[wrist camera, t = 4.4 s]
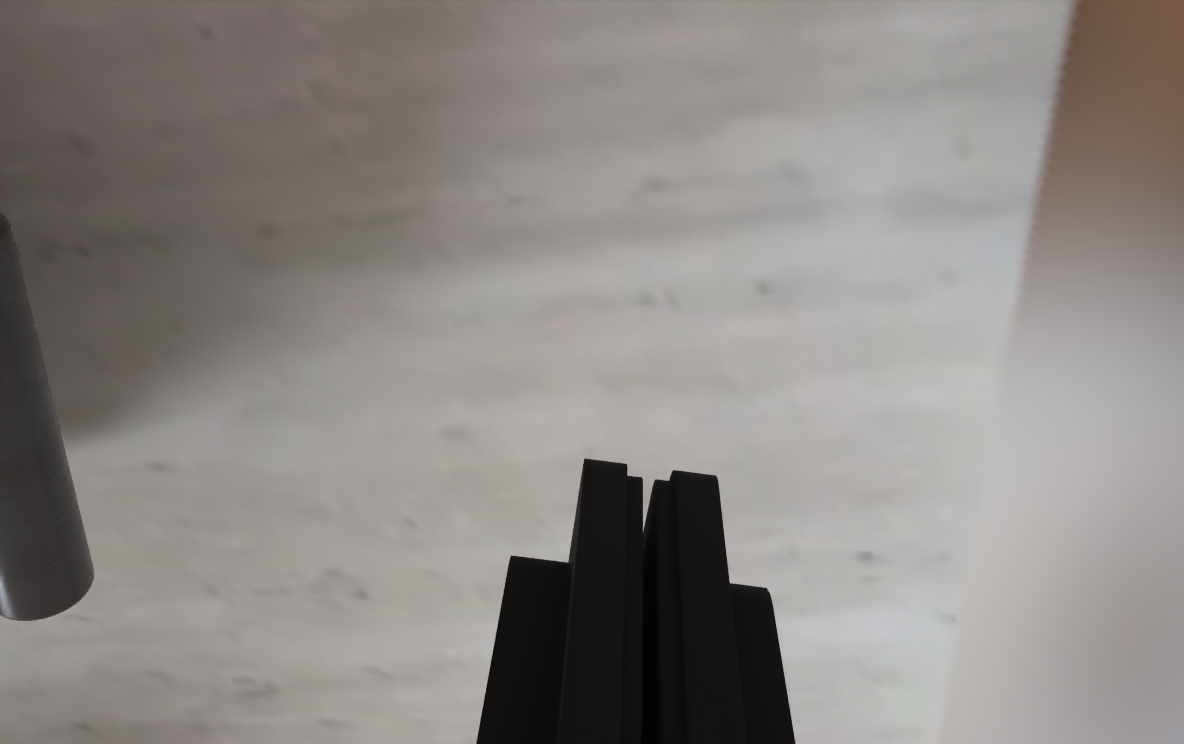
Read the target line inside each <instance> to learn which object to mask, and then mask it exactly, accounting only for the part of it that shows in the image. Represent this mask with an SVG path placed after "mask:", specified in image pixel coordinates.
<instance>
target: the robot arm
mask: <svg viewBox="0 0 1184 744" xmlns="http://www.w3.org/2000/svg"><path fill="white" fill-rule="evenodd" d="M476 744H795V738H794V732H793V726H792V720H791V714H790V708H789V702H788V696H787V689H786V683H785V677H784V671H783V665H782V659H781V653H780V647H779V641H778V634H777V628H776V622H775V616H774V610H773V604H772V600H771V596H770V593H769V591H768V590H767V588H762V587H754V586H747V585H739V584H731V583H729V574H728V565H727V556H726V547H725V538H724V529H723V520H722V511H721V502H720V493H719V485H718V479H717V477H716V476H715V475H707V474H699V473H692V472H684V471H676V470H673V471H672V474H671V476H670V480H669V481H664V480H657V479H656V480H655V481H654V484H653V488H652V493H651V498H650V502H649V507H648V512H647V517H646V521H645V526H644V531H643V479H642V478H641V477H633V476H627V464H623V463H615V462H607V461H600V460H592V459H584V464H583V470H582V476H581V483H580V489H579V496H578V502H577V509H576V516H575V522H574V529H573V535H572V542H571V548H570V555H569V562H568V563H566V562H558V561H550V560H542V559H534V558H527V557H519V556H511V557H510V561H509V566H508V571H507V577H506V582H505V588H504V594H503V599H502V605H501V610H500V616H499V621H498V627H497V632H496V638H495V643H494V649H493V655H492V660H491V666H490V671H489V677H488V682H487V688H486V693H485V699H484V705H483V710H482V716H481V721H480V727H479V732H478V738H477V743H476Z"/></svg>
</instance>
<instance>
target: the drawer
mask: <svg viewBox="0 0 1184 744" xmlns="http://www.w3.org/2000/svg"><path fill="white" fill-rule="evenodd" d="M93 579H94V568H93V564H92V559H91V555H90V551H89V547H88V543H87V539H86V535H85V530H84V526H83V522H82V518H81V514H80V510H79V505H78V501H77V497H76V493H75V489H74V485H73V481H72V476H71V472H70V468H69V464H68V460H67V456H66V452H65V447H64V443H63V439H62V435H61V431H60V427H59V423H58V418H57V414H56V410H55V406H54V402H53V398H52V393H51V389H50V385H49V381H48V377H47V373H46V369H45V364H44V360H43V356H42V352H41V348H40V344H39V340H38V335H37V331H36V327H35V323H34V319H33V315H32V311H31V306H30V302H29V298H28V294H27V290H26V286H25V282H24V277H23V273H22V269H21V265H20V261H19V257H18V252H17V248H16V244H15V240H14V236H13V232H12V228H11V224H10V222H9V220H8V219H7V218H6V217H5V215H3V214H2V213H1V212H0V615H1V616H3V617H5V618H8V619H12V620H18V621H32V620H39V619H44V618H47V617H51V616H54V615H56V614H59V613H61V612H63V611H65V610H67V609H69V608H70V607H72V606H73V605H75V604H76V603H77V602H79V601H80V600H81V599H82V598H83V597H84V596H85V595H86V593H87V592H88V590H89V589H90V587H91V585H92V582H93Z"/></svg>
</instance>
